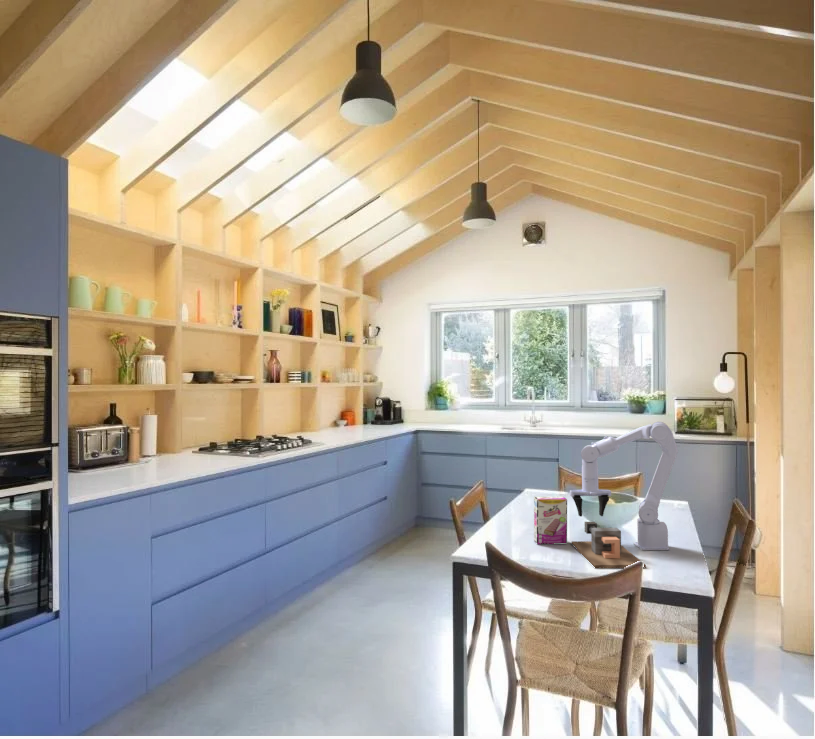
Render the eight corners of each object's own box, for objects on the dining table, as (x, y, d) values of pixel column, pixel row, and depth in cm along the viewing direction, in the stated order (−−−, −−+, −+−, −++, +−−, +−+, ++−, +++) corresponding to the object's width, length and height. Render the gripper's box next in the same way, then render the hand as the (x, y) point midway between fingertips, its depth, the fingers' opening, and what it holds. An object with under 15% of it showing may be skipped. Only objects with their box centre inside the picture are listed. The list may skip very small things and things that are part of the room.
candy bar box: (537, 545, 206) (536, 499, 206) (533, 541, 211) (533, 496, 211) (568, 544, 206) (567, 498, 206) (563, 540, 211) (563, 495, 211)
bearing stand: (616, 544, 206) (615, 519, 206) (645, 568, 180) (645, 540, 180) (571, 544, 206) (571, 519, 206) (594, 568, 180) (594, 540, 180)
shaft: (594, 531, 211) (594, 521, 211) (610, 544, 194) (610, 534, 194) (584, 531, 211) (584, 521, 211) (599, 545, 194) (599, 534, 194)
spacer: (601, 554, 191) (616, 554, 190) (605, 558, 187) (619, 558, 187) (601, 536, 191) (615, 536, 191) (604, 539, 187) (619, 539, 187)
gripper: (573, 480, 206) (573, 518, 206) (613, 480, 206) (614, 518, 206) (567, 477, 213) (568, 514, 213) (607, 476, 213) (607, 513, 213)
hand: (590, 515), depth 210 cm, fingers open, 7 cm apart
